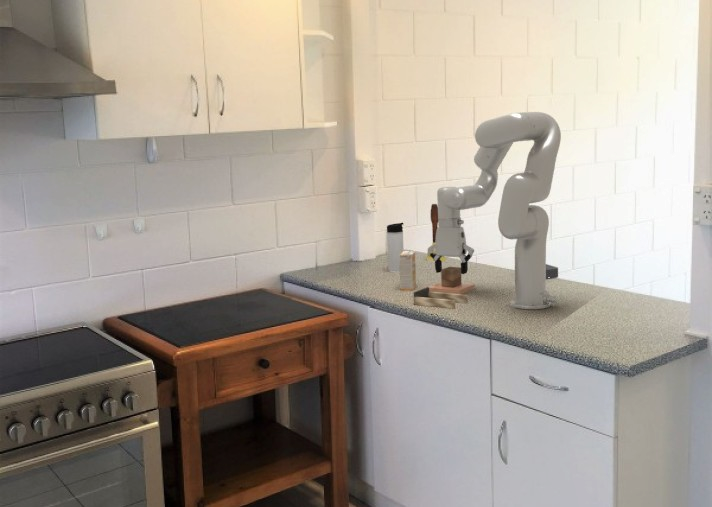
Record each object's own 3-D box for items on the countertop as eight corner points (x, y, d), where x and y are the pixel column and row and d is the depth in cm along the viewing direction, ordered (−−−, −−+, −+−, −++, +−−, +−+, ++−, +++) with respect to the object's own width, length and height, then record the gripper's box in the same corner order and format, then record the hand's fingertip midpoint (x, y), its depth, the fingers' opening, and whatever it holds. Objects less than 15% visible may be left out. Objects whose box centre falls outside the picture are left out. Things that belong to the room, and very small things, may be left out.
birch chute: (467, 302, 258) (467, 290, 258) (454, 308, 251) (454, 296, 250) (427, 298, 266) (427, 287, 266) (413, 304, 259) (413, 292, 258)
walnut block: (461, 284, 278) (461, 267, 277) (453, 287, 273) (452, 270, 272) (450, 283, 280) (449, 266, 279) (441, 286, 275) (441, 269, 274)
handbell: (438, 260, 340) (436, 201, 336) (457, 264, 330) (455, 203, 326) (415, 264, 334) (413, 204, 330) (433, 268, 323) (431, 206, 319)
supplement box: (413, 291, 280) (412, 254, 278) (400, 291, 281) (398, 254, 279) (416, 286, 288) (415, 250, 286) (403, 286, 289) (402, 250, 287)
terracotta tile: (474, 289, 278) (474, 283, 278) (459, 296, 269) (459, 290, 268) (444, 286, 285) (444, 281, 285) (427, 293, 275) (427, 287, 275)
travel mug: (405, 275, 310) (403, 223, 307) (388, 275, 310) (386, 224, 307) (404, 272, 316) (403, 221, 313) (388, 272, 317) (386, 222, 314)
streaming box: (560, 280, 289) (560, 268, 288) (529, 284, 285) (529, 271, 284) (542, 275, 301) (542, 263, 300) (512, 278, 297) (512, 266, 296)
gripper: (477, 222, 271) (479, 272, 273) (432, 221, 281) (434, 269, 283) (467, 224, 265) (469, 275, 267) (421, 224, 275) (424, 273, 277)
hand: (451, 272), depth 275 cm, fingers open, 9 cm apart
